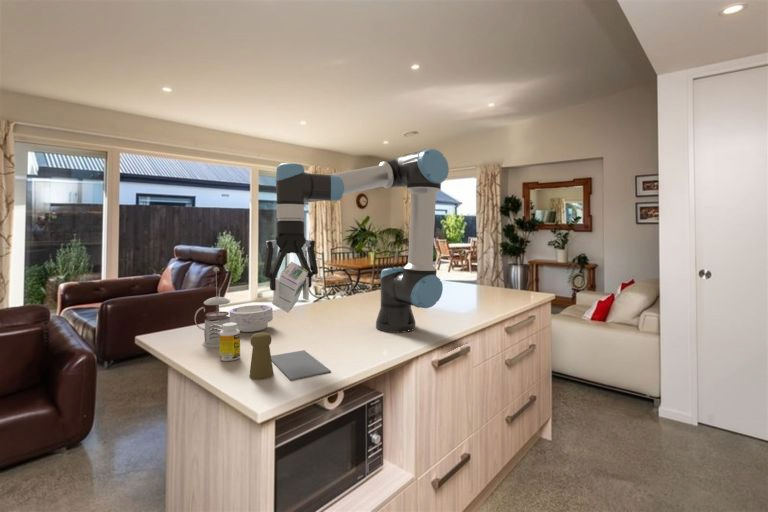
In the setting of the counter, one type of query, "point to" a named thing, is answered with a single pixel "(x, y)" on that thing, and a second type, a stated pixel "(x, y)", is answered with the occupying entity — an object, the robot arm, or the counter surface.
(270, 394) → the counter surface
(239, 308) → the white bowl
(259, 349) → the olive pawn
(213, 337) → the french press
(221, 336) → the supplement bottle
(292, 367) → the mat
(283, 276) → the syrup box
